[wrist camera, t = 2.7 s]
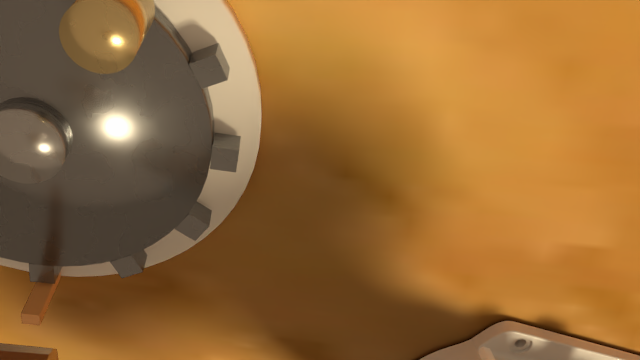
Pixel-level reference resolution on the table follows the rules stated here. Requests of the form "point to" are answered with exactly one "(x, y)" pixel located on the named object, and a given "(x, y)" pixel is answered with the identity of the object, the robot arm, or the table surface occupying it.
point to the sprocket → (102, 133)
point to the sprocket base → (229, 118)
